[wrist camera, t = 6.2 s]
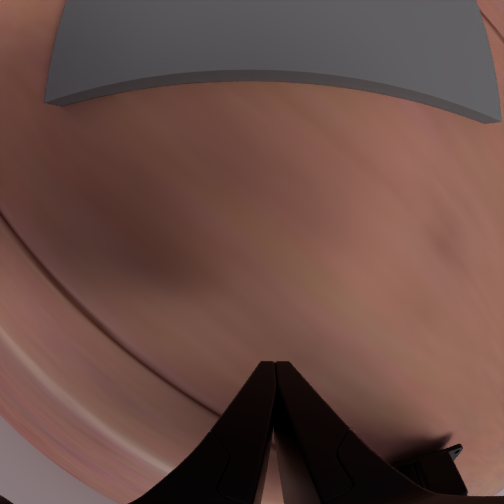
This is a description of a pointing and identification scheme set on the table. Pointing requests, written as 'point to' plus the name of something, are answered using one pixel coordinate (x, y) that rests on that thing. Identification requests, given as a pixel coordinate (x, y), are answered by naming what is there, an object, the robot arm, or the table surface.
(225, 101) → the table surface
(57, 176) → the table surface
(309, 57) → the mat
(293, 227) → the table surface
